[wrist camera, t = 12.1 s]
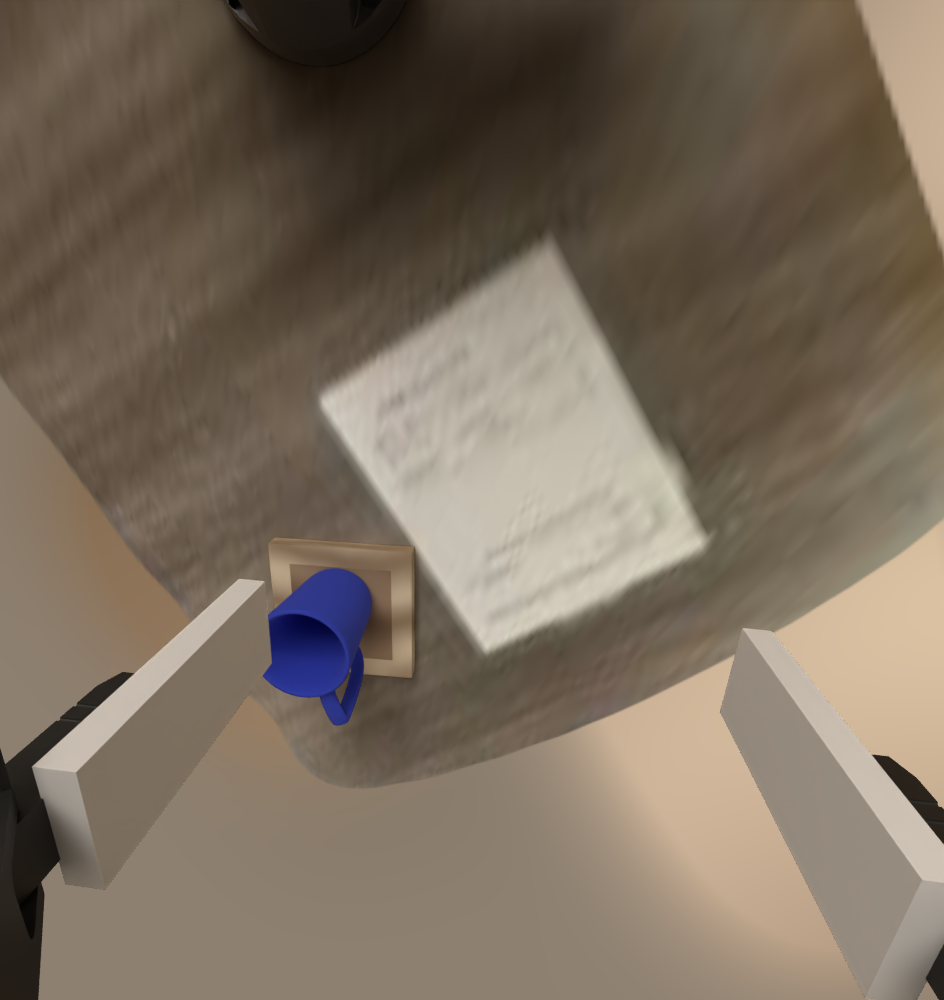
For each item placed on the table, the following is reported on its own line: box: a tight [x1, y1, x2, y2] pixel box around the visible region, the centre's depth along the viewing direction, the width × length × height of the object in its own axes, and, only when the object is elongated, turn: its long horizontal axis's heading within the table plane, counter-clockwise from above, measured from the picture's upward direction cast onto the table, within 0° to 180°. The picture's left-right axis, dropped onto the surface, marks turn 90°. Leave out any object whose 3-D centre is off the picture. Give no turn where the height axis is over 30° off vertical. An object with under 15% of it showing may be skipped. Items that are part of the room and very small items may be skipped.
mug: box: [263, 568, 372, 725], centre depth 47 cm, size 8×12×10 cm
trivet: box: [268, 538, 415, 678], centre depth 53 cm, size 14×14×2 cm
